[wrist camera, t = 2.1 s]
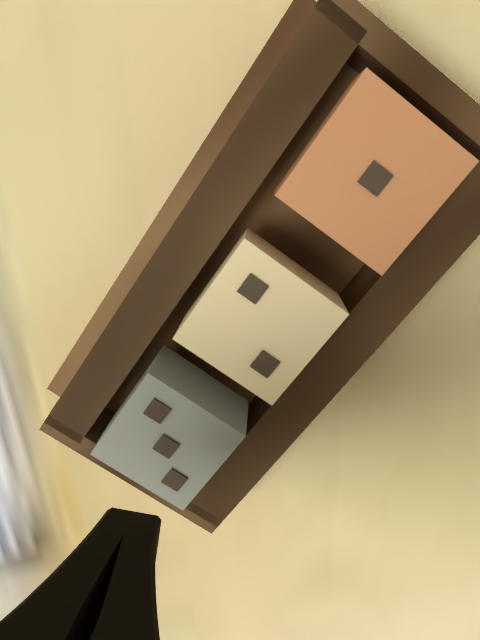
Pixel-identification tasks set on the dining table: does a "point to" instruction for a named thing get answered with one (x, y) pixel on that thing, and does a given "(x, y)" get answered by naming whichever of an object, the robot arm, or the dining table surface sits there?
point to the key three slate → (174, 429)
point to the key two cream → (261, 318)
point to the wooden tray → (277, 229)
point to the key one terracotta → (374, 172)
